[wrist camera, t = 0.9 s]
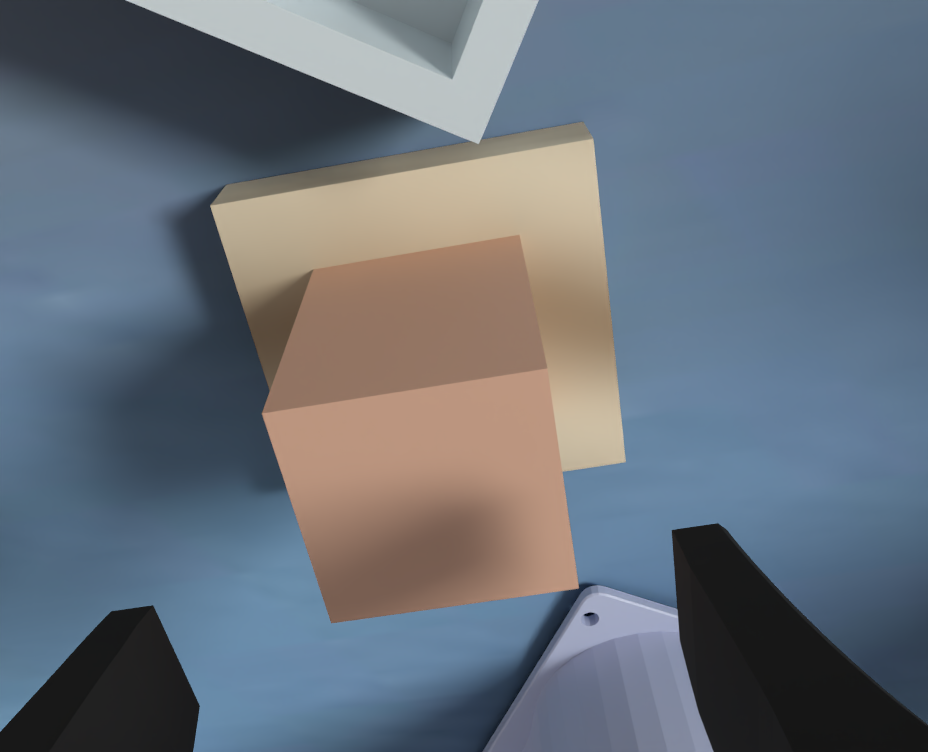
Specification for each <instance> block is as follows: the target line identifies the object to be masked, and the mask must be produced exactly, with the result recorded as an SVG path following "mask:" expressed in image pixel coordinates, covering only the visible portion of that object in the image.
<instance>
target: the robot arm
mask: <svg viewBox="0 0 928 752" xmlns="http://www.w3.org/2000/svg"><path fill="white" fill-rule="evenodd" d="M672 539H673V553H674V567H675V581H676V595H677V609H676V608H672V607H669V606H666V605H663V604H659V603H656V602H653V601H650V600H647V599H643V598H640V597H637V596H634V595H631V594H627V593H624V592H621V591H618V590H614V589H611V588H608V587H605V586H599V585H596V586H590V587H588V588H586V589H584V590H583V591H582V593H581V594H580V595H579V597H578V598H577V600H576V602H575V603H574V605H573V606H572V608H571V610H570V611H569V613H568V614H567V616H566V618H565V619H564V621H563V623H562V624H561V626H560V627H559V629H558V631H557V632H556V634H555V635H554V637H553V639H552V640H551V642H550V644H549V645H548V647H547V648H546V650H545V652H544V653H543V655H542V656H541V658H540V660H539V661H538V663H537V665H536V666H535V668H534V669H533V671H532V673H531V674H530V676H529V677H528V679H527V681H526V682H525V684H524V686H523V687H522V689H521V690H520V692H519V694H518V695H517V697H516V698H515V700H514V702H513V703H512V705H511V706H510V708H509V710H508V711H507V713H506V715H505V716H504V718H503V719H502V721H501V723H500V724H499V726H498V727H497V729H496V731H495V732H494V734H493V736H492V737H491V739H490V740H489V742H488V744H487V745H486V747H485V748H484V750H483V752H928V725H927V724H926V723H925V722H924V721H922V720H921V719H920V718H918V717H917V716H916V715H915V714H913V713H912V712H911V711H910V710H908V709H907V708H906V707H905V706H904V705H902V704H901V703H900V702H899V701H897V700H896V699H895V698H894V697H893V696H892V695H890V694H889V693H888V692H887V691H886V690H884V689H883V688H882V687H881V686H880V685H879V684H877V683H876V682H875V681H874V680H873V679H872V678H871V677H869V676H868V675H867V674H866V673H865V672H864V671H863V670H861V669H860V668H859V667H858V666H857V665H856V664H855V663H854V662H852V661H851V660H850V659H849V658H848V657H847V656H846V655H845V654H844V653H843V652H842V651H840V650H839V649H838V648H837V647H836V646H835V645H834V644H833V643H832V642H831V641H830V640H829V639H828V638H827V637H826V636H825V635H824V634H823V633H822V632H820V631H819V630H818V629H817V628H816V627H815V626H814V625H813V624H812V623H811V622H810V621H809V620H808V619H807V618H806V617H805V616H804V615H803V614H802V613H801V612H800V611H799V610H798V609H797V608H796V607H795V606H794V605H793V604H792V603H791V602H790V601H789V600H788V599H787V598H786V597H785V596H784V595H783V594H782V592H781V591H780V590H779V589H778V588H777V587H776V586H775V585H774V584H773V583H772V582H771V581H770V580H769V578H768V577H767V576H766V575H765V574H764V573H763V572H762V571H761V570H760V569H759V568H758V566H757V565H756V564H755V563H754V562H753V561H752V560H751V558H750V557H749V556H748V555H747V554H746V553H745V552H744V550H743V549H742V548H741V547H740V546H739V544H738V543H737V542H736V541H735V540H734V538H733V537H732V536H731V535H730V533H729V532H728V531H727V530H726V529H725V528H724V527H722V526H721V525H719V524H718V523H717V524H710V525H704V526H697V527H690V528H683V529H676V530H672ZM589 612H591V613H595V614H594V615H591V616H584V614H586V613H589ZM199 707H200V706H199V703H198V701H197V699H196V697H195V695H194V693H193V690H192V688H191V686H190V684H189V682H188V680H187V677H186V675H185V673H184V671H183V669H182V667H181V664H180V662H179V660H178V658H177V656H176V654H175V652H174V649H173V647H172V645H171V643H170V641H169V639H168V636H167V634H166V632H165V630H164V628H163V626H162V623H161V621H160V619H159V617H158V615H157V613H156V611H155V608H154V606H146V607H139V608H132V609H125V610H118V611H111V612H110V613H109V614H108V615H107V616H106V617H105V618H104V619H103V620H102V621H101V622H100V624H99V625H98V626H97V627H96V628H95V629H94V630H93V631H92V632H91V633H90V634H89V635H88V636H87V637H86V638H85V640H84V641H83V642H82V643H81V644H80V645H79V646H78V647H77V648H76V649H75V651H74V652H73V653H72V654H71V655H70V656H69V657H68V658H67V659H66V661H65V662H64V663H63V664H62V665H61V666H60V667H59V668H58V669H57V670H56V672H55V673H54V674H53V675H52V676H51V677H50V678H49V679H48V680H47V682H46V683H45V684H44V685H43V686H42V687H41V688H40V689H39V690H38V691H37V693H36V694H35V695H34V696H33V697H32V698H31V699H30V700H29V701H28V702H27V703H26V705H25V706H24V707H23V708H22V709H21V710H20V711H19V712H18V713H17V714H16V715H15V716H14V718H13V719H12V720H11V721H10V722H9V723H8V724H7V725H6V726H5V727H4V728H3V730H2V731H1V732H0V752H193V748H194V742H195V735H196V728H197V721H198V714H199Z"/></svg>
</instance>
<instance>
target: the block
mask: <svg viewBox="0 0 928 752" xmlns="http://www.w3.org/2000/svg"><path fill="white" fill-rule="evenodd" d="M262 415H263V418H264V421H265V424H266V427H267V430H268V433H269V437H270V440H271V443H272V446H273V449H274V452H275V455H276V458H277V461H278V464H279V467H280V470H281V473H282V476H283V479H284V482H285V485H286V488H287V491H288V494H289V497H290V500H291V503H292V506H293V509H294V512H295V515H296V518H297V521H298V524H299V527H300V530H301V533H302V536H303V539H304V542H305V545H306V548H307V551H308V554H309V557H310V560H311V563H312V566H313V569H314V572H315V575H316V578H317V581H318V584H319V587H320V590H321V593H322V596H323V599H324V603H325V606H326V609H327V612H328V615H329V618H330V621H331V623H337V622H344V621H351V620H358V619H365V618H372V617H379V616H387V615H394V614H401V613H408V612H415V611H422V610H429V609H436V608H443V607H451V606H458V605H465V604H472V603H479V602H486V601H493V600H500V599H508V598H515V597H522V596H529V595H536V594H543V593H550V592H557V591H564V590H572V589H579V585H578V578H577V571H576V564H575V557H574V550H573V543H572V536H571V529H570V522H569V515H568V508H567V501H566V494H565V487H564V480H563V473H562V466H561V459H560V453H559V446H558V439H557V432H556V425H555V418H554V411H553V404H552V397H551V390H550V383H549V376H548V369H547V364H546V359H545V354H544V350H543V345H542V340H541V335H540V330H539V326H538V321H537V316H536V311H535V307H534V302H533V297H532V292H531V287H530V283H529V278H528V273H527V268H526V263H525V259H524V254H523V249H522V244H521V240H520V235H515V236H509V237H503V238H497V239H491V240H485V241H479V242H473V243H467V244H461V245H455V246H449V247H443V248H437V249H432V250H426V251H420V252H414V253H408V254H402V255H396V256H390V257H384V258H378V259H372V260H366V261H360V262H354V263H349V264H343V265H337V266H331V267H325V268H319V269H313V272H312V275H311V277H310V280H309V283H308V286H307V289H306V291H305V294H304V297H303V300H302V303H301V305H300V308H299V311H298V314H297V317H296V319H295V322H294V325H293V328H292V331H291V333H290V336H289V339H288V342H287V345H286V347H285V350H284V353H283V356H282V359H281V361H280V364H279V367H278V370H277V373H276V375H275V378H274V381H273V384H272V387H271V389H270V392H269V395H268V398H267V401H266V403H265V406H264V409H263V412H262Z"/></svg>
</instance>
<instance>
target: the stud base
mask: <svg viewBox="0 0 928 752" xmlns="http://www.w3.org/2000/svg"><path fill="white" fill-rule="evenodd" d="M210 207H211V210H212V213H213V216H214V219H215V222H216V225H217V228H218V232H219V235H220V238H221V241H222V244H223V247H224V250H225V253H226V256H227V259H228V263H229V266H230V269H231V272H232V275H233V278H234V281H235V284H236V287H237V291H238V294H239V297H240V300H241V303H242V306H243V309H244V312H245V315H246V319H247V322H248V325H249V328H250V331H251V334H252V337H253V340H254V343H255V347H256V350H257V353H258V356H259V359H260V362H261V365H262V368H263V371H264V375H265V378H266V381H267V384H268V387H269V390H270V389H271V387H272V384H273V381H274V378H275V375H276V373H277V370H278V367H279V364H280V361H281V359H282V356H283V353H284V350H285V347H286V345H287V342H288V339H289V336H290V333H291V331H292V328H293V325H294V322H295V319H296V317H297V314H298V311H299V308H300V305H301V303H302V300H303V297H304V294H305V291H306V289H307V286H308V283H309V280H310V277H311V275H312V272H313V269H319V268H325V267H331V266H337V265H343V264H349V263H354V262H360V261H366V260H372V259H378V258H384V257H390V256H396V255H402V254H408V253H414V252H420V251H426V250H432V249H437V248H443V247H449V246H455V245H461V244H467V243H473V242H479V241H485V240H491V239H497V238H503V237H509V236H515V235H520V240H521V244H522V249H523V254H524V259H525V263H526V268H527V273H528V278H529V283H530V287H531V292H532V297H533V302H534V307H535V311H536V316H537V321H538V326H539V330H540V335H541V340H542V345H543V350H544V354H545V359H546V364H547V369H548V376H549V383H550V390H551V397H552V404H553V411H554V418H555V425H556V432H557V439H558V446H559V453H560V459H561V466H562V472H563V471H570V470H577V469H583V468H590V467H597V466H603V465H610V464H617V463H623V462H626V461H625V451H624V441H623V431H622V421H621V411H620V401H619V391H618V381H617V371H616V361H615V351H614V341H613V331H612V321H611V311H610V301H609V291H608V281H607V271H606V261H605V251H604V241H603V231H602V221H601V211H600V201H599V191H598V181H597V171H596V161H595V151H594V141H593V137H592V136H591V134H590V132H589V131H588V129H587V127H586V126H585V124H584V122H579V123H573V124H568V125H562V126H556V127H551V128H545V129H539V130H534V131H528V132H522V133H517V134H511V135H505V136H500V137H494V138H488V139H483V140H480V143H479V144H477V143H474V142H472V141H471V142H466V143H460V144H454V145H449V146H443V147H437V148H432V149H426V150H420V151H415V152H409V153H403V154H398V155H392V156H386V157H381V158H375V159H369V160H364V161H358V162H353V163H347V164H341V165H336V166H330V167H324V168H319V169H313V170H307V171H302V172H296V173H290V174H285V175H279V176H273V177H268V178H262V179H256V180H251V181H245V182H239V183H234V184H228V185H226V186H225V187H224V188H223V190H222V191H221V192H220V194H219V195H218V196H217V198H216V199H215V200H214V202H213V203H212V204H211V205H210Z"/></svg>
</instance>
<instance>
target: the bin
mask: <svg viewBox="0 0 928 752" xmlns="http://www.w3.org/2000/svg"><path fill="white" fill-rule="evenodd" d="M126 1H129V2H131V3H134V4H136V5H138V6H141V7H143V8H146V9H148V10H151V11H153V12H156V13H158V14H161V15H163V16H165V17H168V18H170V19H173V20H175V21H178V22H180V23H183V24H185V25H187V26H190V27H192V28H195V29H197V30H200V31H202V32H205V33H207V34H210V35H212V36H214V37H217V38H219V39H222V40H224V41H227V42H229V43H232V44H234V45H237V46H239V47H241V48H244V49H246V50H249V51H251V52H254V53H256V54H259V55H261V56H264V57H266V58H268V59H271V60H273V61H276V62H278V63H281V64H283V65H286V66H288V67H290V68H293V69H295V70H298V71H300V72H303V73H305V74H308V75H310V76H313V77H315V78H317V79H320V80H322V81H325V82H327V83H330V84H332V85H335V86H337V87H340V88H342V89H344V90H347V91H349V92H352V93H354V94H357V95H359V96H362V97H364V98H366V99H369V100H371V101H374V102H376V103H379V104H381V105H384V106H386V107H389V108H391V109H393V110H396V111H398V112H401V113H403V114H406V115H408V116H411V117H413V118H416V119H418V120H420V121H423V122H425V123H428V124H430V125H433V126H435V127H438V128H440V129H443V130H445V131H447V132H450V133H452V134H455V135H457V136H460V137H462V138H465V139H467V140H469V141H472V142H474V143H477V144H479V143H480V140H481V138H482V135H483V133H484V131H485V128H486V126H487V123H488V121H489V119H490V116H491V114H492V111H493V109H494V107H495V104H496V102H497V99H498V97H499V95H500V92H501V90H502V87H503V85H504V82H505V80H506V78H507V75H508V73H509V70H510V68H511V66H512V63H513V61H514V58H515V56H516V54H517V51H518V49H519V46H520V44H521V42H522V39H523V37H524V34H525V32H526V29H527V27H528V25H529V22H530V20H531V17H532V15H533V13H534V10H535V8H536V5H537V3H538V1H539V0H126Z"/></svg>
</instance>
